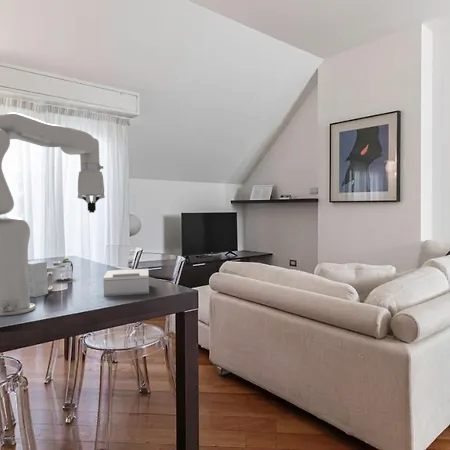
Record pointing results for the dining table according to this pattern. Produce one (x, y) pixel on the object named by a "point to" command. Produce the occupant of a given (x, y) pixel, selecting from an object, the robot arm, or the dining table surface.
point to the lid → (126, 274)
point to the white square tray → (126, 287)
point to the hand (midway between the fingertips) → (91, 212)
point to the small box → (37, 278)
